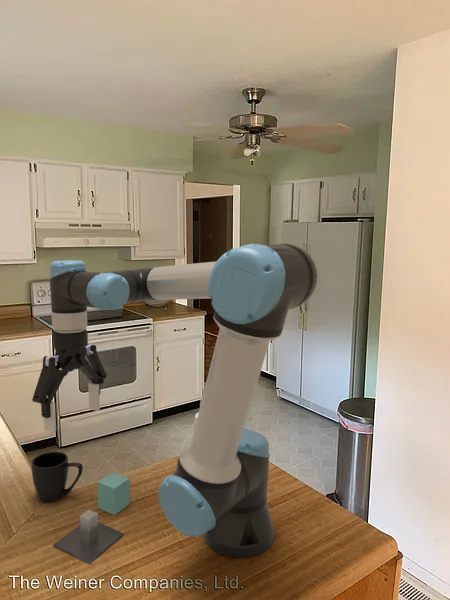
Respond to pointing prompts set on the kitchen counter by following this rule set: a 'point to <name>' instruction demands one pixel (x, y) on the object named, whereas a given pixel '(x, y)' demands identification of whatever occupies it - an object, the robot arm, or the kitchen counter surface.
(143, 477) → the kitchen counter surface
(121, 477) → the teal rectangular block
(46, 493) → the mug
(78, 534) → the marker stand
